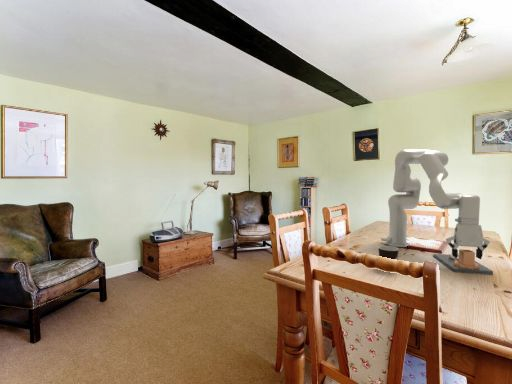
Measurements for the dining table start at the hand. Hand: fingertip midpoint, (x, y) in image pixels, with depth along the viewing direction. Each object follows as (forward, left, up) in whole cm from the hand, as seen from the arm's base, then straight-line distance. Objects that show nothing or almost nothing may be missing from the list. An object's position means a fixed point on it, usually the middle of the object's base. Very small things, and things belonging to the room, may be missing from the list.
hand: (466, 257), depth 126 cm
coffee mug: (-35, -6, -5) cm, 36 cm away
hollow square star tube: (0, 0, -4) cm, 4 cm away
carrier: (0, +6, -5) cm, 8 cm away
